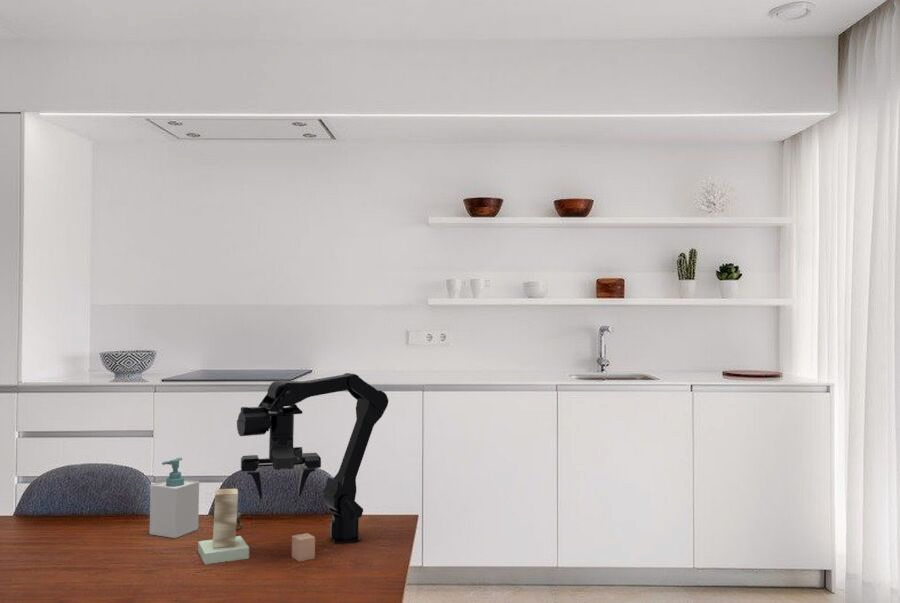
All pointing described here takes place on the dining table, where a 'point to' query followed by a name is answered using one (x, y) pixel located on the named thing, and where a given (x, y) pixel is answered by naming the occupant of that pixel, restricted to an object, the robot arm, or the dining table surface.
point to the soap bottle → (174, 504)
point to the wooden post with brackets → (239, 521)
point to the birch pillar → (225, 518)
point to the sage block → (223, 551)
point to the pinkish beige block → (303, 547)
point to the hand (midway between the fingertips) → (280, 497)
